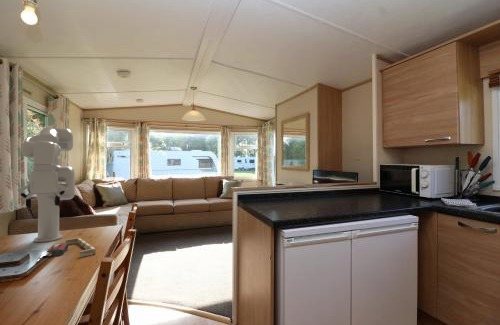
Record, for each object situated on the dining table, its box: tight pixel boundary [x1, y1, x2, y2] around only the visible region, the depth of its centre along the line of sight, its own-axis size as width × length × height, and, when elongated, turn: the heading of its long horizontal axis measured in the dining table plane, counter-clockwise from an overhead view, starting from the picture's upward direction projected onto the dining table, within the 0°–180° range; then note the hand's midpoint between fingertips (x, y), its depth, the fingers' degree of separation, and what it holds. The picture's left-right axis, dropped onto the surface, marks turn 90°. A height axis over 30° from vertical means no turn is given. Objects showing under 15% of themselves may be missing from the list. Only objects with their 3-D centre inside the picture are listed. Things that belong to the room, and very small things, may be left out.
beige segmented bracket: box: [65, 237, 97, 258], centre depth 125 cm, size 27×6×2 cm, turn 49°
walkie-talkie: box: [46, 242, 69, 257], centre depth 117 cm, size 9×4×20 cm
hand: (43, 206), depth 110 cm, fingers open, 9 cm apart
